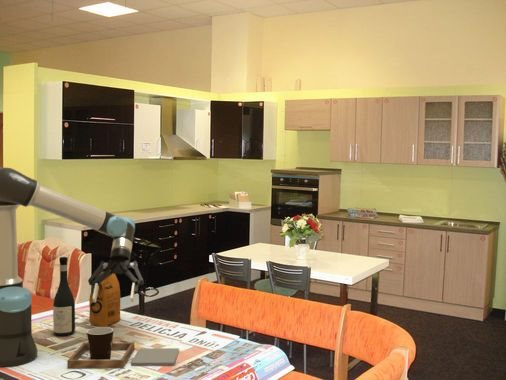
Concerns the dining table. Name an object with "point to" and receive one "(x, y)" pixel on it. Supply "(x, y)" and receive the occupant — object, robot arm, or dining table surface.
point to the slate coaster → (155, 357)
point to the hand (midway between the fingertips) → (113, 300)
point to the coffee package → (106, 303)
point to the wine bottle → (63, 304)
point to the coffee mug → (100, 342)
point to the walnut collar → (105, 363)
